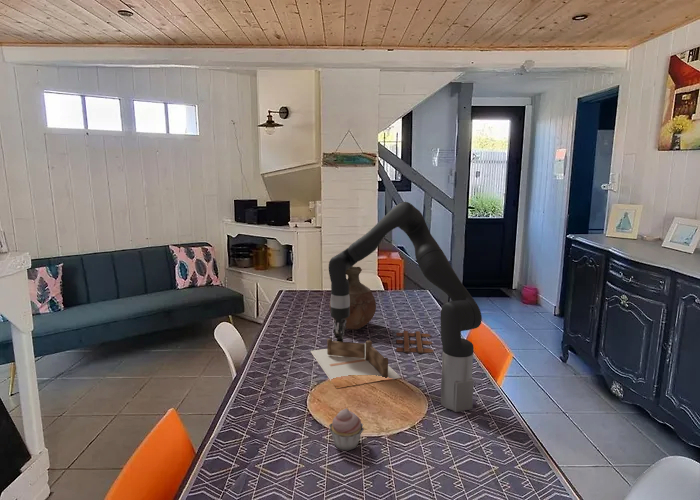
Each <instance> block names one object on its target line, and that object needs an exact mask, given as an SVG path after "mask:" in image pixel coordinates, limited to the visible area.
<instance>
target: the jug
mask: <svg viewBox="0 0 700 500" xmlns="http://www.w3.org/2000/svg"><path fill="white" fill-rule="evenodd" d="M362 271H363V270H362V268H361V267H360V266H354V265H353V266H352V267H350V268H349V269H348V270H346V276H347V279H348V281H349V296H350V316H349V317H348V318H345V319H346V320H347V322H346V328H345V330H346V329H347V330H359V329H362V328H364V327H365V326H366V325H367V324H369V323H370V322H371V321H372V320H373V318H374V316H375V314H376V310H377V301H376V299H375V296H374V293H373V292H372V290H371V289H370V288H369V287H368V286H367V285H364V284H363V283H361V281H360V274H361V273H362ZM328 308H329V312H330V314H331V299H330V300H329V307H328ZM332 319H333V320H334V322H336V319H335V318H332Z"/></svg>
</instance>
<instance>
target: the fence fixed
mask: <svg viewBox="0 0 700 500" xmlns="http://www.w3.org/2000/svg"><path fill="white" fill-rule="evenodd" d="M365 344H366V361H369V362H370V363H371V364H372V365H373V366H374V367H375V368H376V369H377V370H378V371H379V372H380V373H381V374H382V375H383V377H385V378H387V377H388V365H389V357H387V356H385V357H384V356H383V355H382V353H380V352H379V351H378V350H377V349H376V348H375V347H374V346H373V341H372V340H366V341H365Z"/></svg>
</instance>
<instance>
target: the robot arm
mask: <svg viewBox="0 0 700 500" xmlns="http://www.w3.org/2000/svg"><path fill="white" fill-rule="evenodd" d="M397 228H399V229H400V230H402V232H404V233H405V234H406V236H407V237H408V238H409V240H410V242H411V243H412V245H413V247H414V253H415V254H414V256H415V260H416V262H417V266H418V267H419V269H420V271H421V273H422V274H423V276H424V278H425V279H426V280H427V281H429V282H430V283H431V284H432V285H434V286H435V287H436V288H438V289H439V290H441V291H442V292H444V293H445V294H446V295H447V296H448V297H449V299H451V301H446V302H445V303H444V304H443V305H442V306H441V309H440V341H441V347H442V349H441V350H442V353H441V354H442V356H441V378H440V379H441V380H440V381H441V382H440V404H441V406H442V407H444V408H446V409H448V410H451V411H453V412H454V413H458V412H463V411H468V410H472V409H473V405H474V404H473V401H474V381H475V380H474V379H473V368H474V367H473V366H474V365H473V364H474V350H475V349H474V344H473V343H472V341H470V340H468V339H466V338H463V337H462V332H464V331H470V330H475V329H478V328H479V327H480V326H481V324H482V321H483V318H482V311H481V309H480V307H479V305H478V304H477V302H476V300H475V299H474V298H473V296H472V295H471V293H470V292H469V291H468V290H467V288H466V287H465V286H464V284H463V282H462V281H461V280H460V278H459V276H458V275H457V273H456V272H455V271H454V269H453V266H452V265H451V263H450V262H449V259H448V258H447V256H446V255H445V253H444V251H443V249H442V248H441V247H440V245H439V243H438V242H437V241H436V239H435V238H434V236H433V235H432V234H431V231H430V230H429V227H428V224H427V222H426V220H425V218H424V215H423V214H422V212H421V211H420V209H418V208H417V207H415V205H413V204H411V202H409V201H402V202H399V203H398V204H396V205H395V206H393V207H392V209H391V210H390V209H389V212H387V213H386V215H384V216H383V217H382V218H381V219H380V220H379V221H378V222H377V223H376V224H375V225H374V226H373V227H372V228H371V229H369V231H367V232H366V234H364V235H363V236H361V237H359V238H358V239H356V241H353V243H352V244H350V245H349V246H348V247H347V248H345V249H343V251H341V252H340V253H337V254H336V255H334V256H333V257H331V258H330V260H329V262H328V274H329V280H330V282H331V284H330V300H331V313H330V317H331V318H332V319H333V318H335V319H336V321H334V323H333V326H334V328H333V334H334V339H336V341H340V342H344V337H345V334H346V322H347V320H346V319H345V318H348V317H349V316H350V296H349V281H348V278H347V274H346V270H348V269H349V268H350V267H352V266H353V267H354V265H355V264H357V263H358V262H360V261H362V260H364V259H365V258H367V257H368V256H370V255H371V254H372V253H374V252H375V251H376V250H377V249H378V247H379V246H380V244H381V243H382V241H383V239H384V238H385V237H386V235H388V233H390V232H391V231H393V230H395V229H397Z"/></svg>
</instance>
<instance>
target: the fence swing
mask: <svg viewBox="0 0 700 500" xmlns="http://www.w3.org/2000/svg"><path fill="white" fill-rule="evenodd" d="M326 339H327V340H326V346H327V348H326V349H327V354H328V355H333V356H344V357H355V358H365V344H366V343H365V344H364V343H362V342H361V343H360V342H347V341H343V342H340V341H337V340H333V339H332V338H326Z"/></svg>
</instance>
